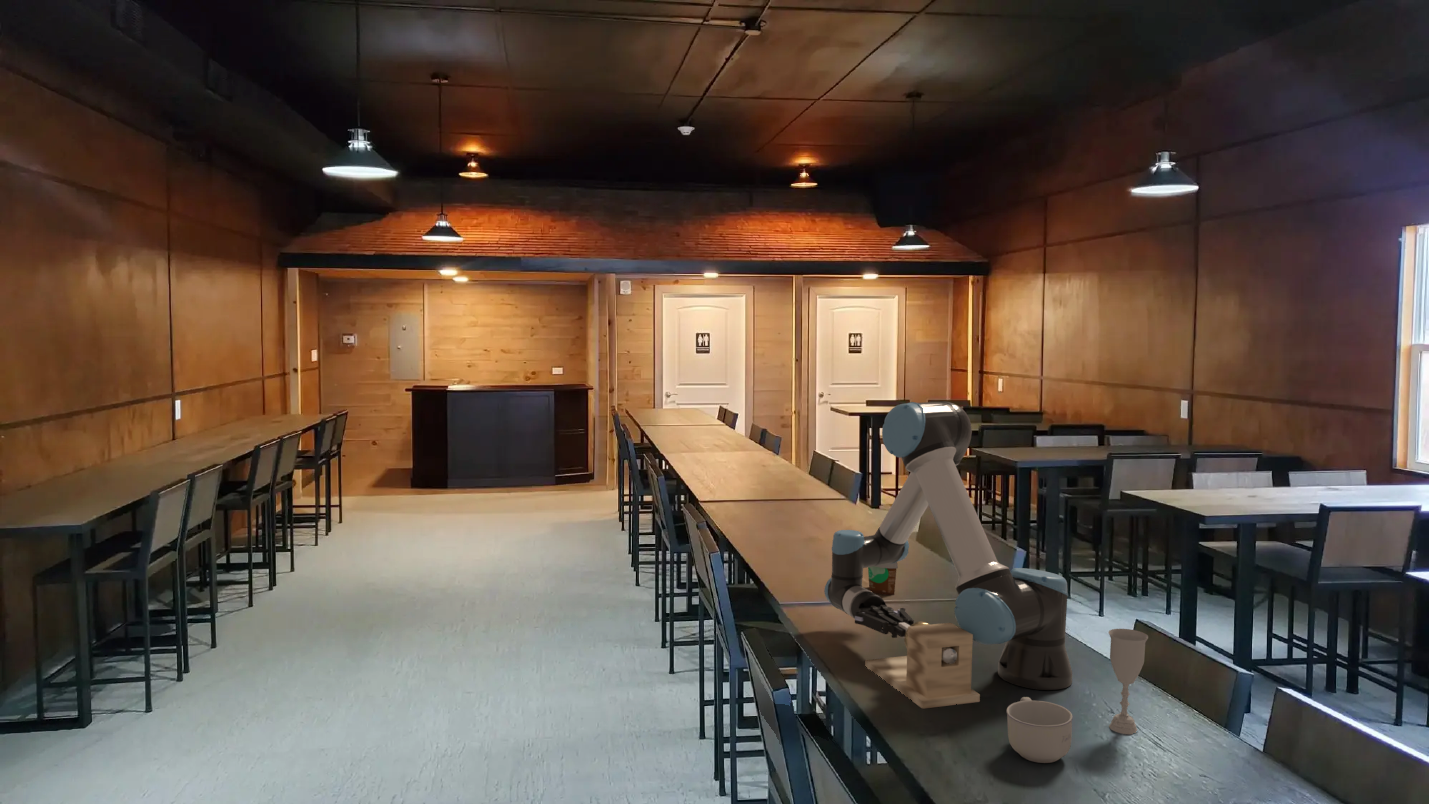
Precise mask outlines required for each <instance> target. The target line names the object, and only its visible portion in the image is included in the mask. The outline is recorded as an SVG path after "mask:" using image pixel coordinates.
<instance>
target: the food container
mask: <svg viewBox="0 0 1429 804" xmlns="http://www.w3.org/2000/svg"><path fill="white" fill-rule="evenodd" d="M898 568H899V565H898V562H896V563H892V564H884V565H878V566H872V567H867V570H868V590H869V591H872V592H874V594H876V595H883V594H884V595H885V596H894V595H895V591H896V579H897V578H896V577H897V569H898Z"/></svg>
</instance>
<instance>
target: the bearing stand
mask: <svg viewBox="0 0 1429 804" xmlns="http://www.w3.org/2000/svg"><path fill="white" fill-rule="evenodd" d="M973 641H974V640H973V634H971V633H969V632H967V631H965V630H963V629H961V628H960V626H959V625H956V624H954V623H952V622H943V623H933V624H930V625H920V626H909V627H908V644H907V648H906V649H907V650H906V655H901V656H892V657H883V658H882V657H881V658H873V659H865V662H864V664H865V665H864V667H865V666H866V667H867V668H866V667H865V668H866V669H868V670H869V669H870V670H871V671H870V670H869V671H870V672H872V671H873V672H874V673H875V674H874V673H873V672H872V673H873V674H874V675H876V674H877V675H878V677H879V676H880V677H881V678H882V679H881V678H880V677H879V678H880V679H881V680H883V679H884V680H885V681H886V682H885V681H884V680H883V681H884V682H885V683H887V684H888V685H889V684H890V685H889V686H891V687H892V686H893V687H892V688H893V689H894V690H896V689H897V691H898V692H899V691H900V692H901V694H902V695H903V694H904V695H905V696H904V695H903V696H904V697H906V698H907V697H908V698H907V699H908V700H910V699H911V700H912V703H914V704H916V705H917V706H918V707H919V708H921V709H930V708H932V709H933V708H938V707H946V706H947V707H948V706H955V705H956V704H957V705H963V704H972V703H979V702H980V701H981V700H980V699H981V698H980V697H981V694H980V693H978V692H977V691H975V690H974V689H972V688H971V687H972V671H973V670H972V669H973V668H972V667H973V665H972V664H973V663H972V662H973ZM942 647H950V648H952V649H953V650H955V651H956V652H957V659H956V661H955V662H954V663H952V664H947V663H946V662H944V661H942V660H941V658H942ZM877 675H876V676H877ZM900 692H899V693H900ZM911 700H910V701H911Z"/></svg>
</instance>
